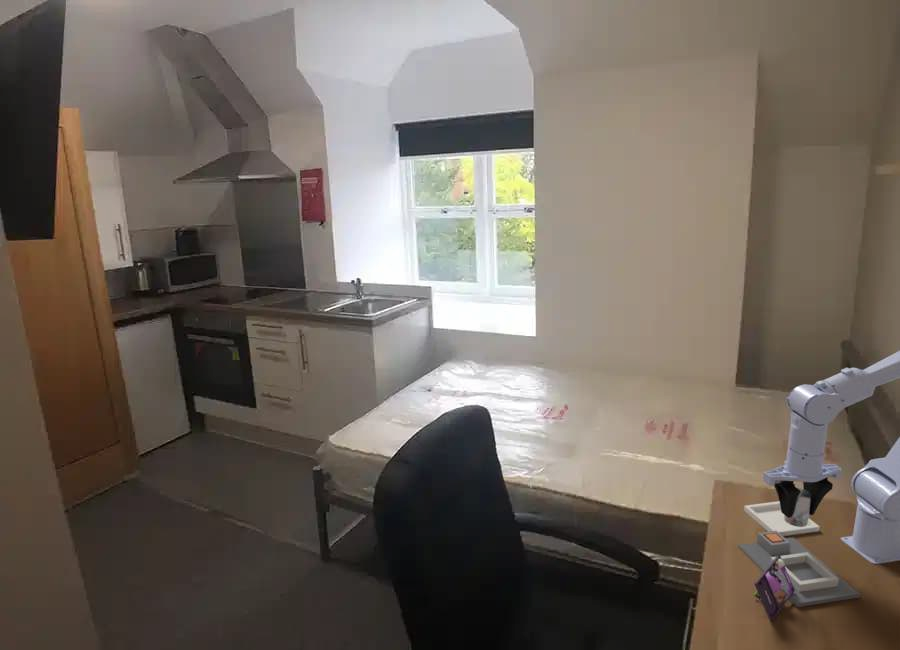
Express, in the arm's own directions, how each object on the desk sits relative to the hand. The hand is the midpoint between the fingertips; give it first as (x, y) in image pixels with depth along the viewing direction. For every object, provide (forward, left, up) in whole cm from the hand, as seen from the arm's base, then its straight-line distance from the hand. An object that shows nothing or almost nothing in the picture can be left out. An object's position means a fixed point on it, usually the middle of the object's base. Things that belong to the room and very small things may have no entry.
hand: (797, 513), depth 111 cm
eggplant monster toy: (+13, +11, -9) cm, 19 cm away
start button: (+3, -1, -8) cm, 8 cm away
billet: (0, 0, -2) cm, 2 cm away
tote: (-5, -10, -9) cm, 14 cm away
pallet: (+3, +5, -9) cm, 11 cm away
